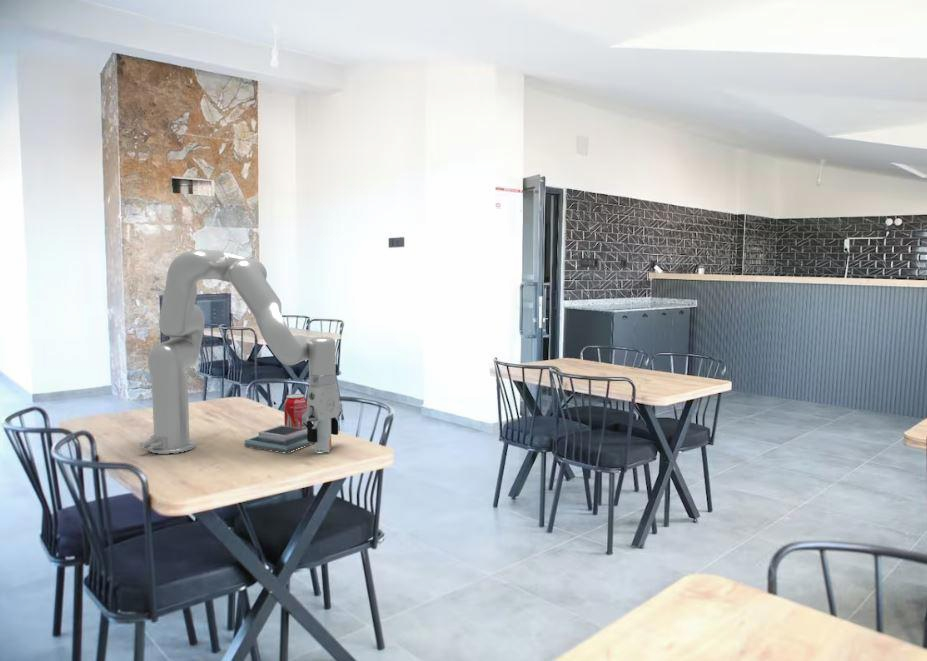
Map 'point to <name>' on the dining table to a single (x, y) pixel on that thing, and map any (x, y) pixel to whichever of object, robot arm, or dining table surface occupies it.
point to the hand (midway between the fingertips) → (323, 437)
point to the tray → (280, 439)
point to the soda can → (295, 410)
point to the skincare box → (323, 435)
